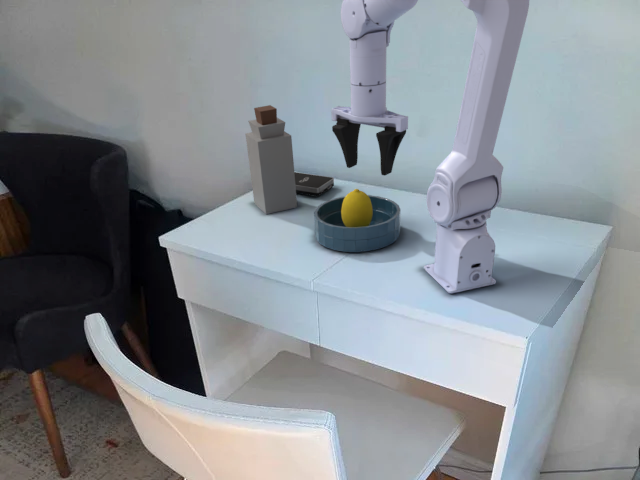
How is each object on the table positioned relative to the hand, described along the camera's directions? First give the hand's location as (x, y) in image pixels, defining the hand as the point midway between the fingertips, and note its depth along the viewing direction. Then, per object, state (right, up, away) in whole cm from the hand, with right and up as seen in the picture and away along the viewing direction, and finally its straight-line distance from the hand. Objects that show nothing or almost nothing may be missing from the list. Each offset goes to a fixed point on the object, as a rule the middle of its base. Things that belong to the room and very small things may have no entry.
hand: (368, 169), depth 106 cm
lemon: (-2, -10, +4) cm, 11 cm away
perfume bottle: (-18, 0, +18) cm, 25 cm away
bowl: (-2, -10, +4) cm, 11 cm away
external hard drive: (-12, +6, +24) cm, 27 cm away
